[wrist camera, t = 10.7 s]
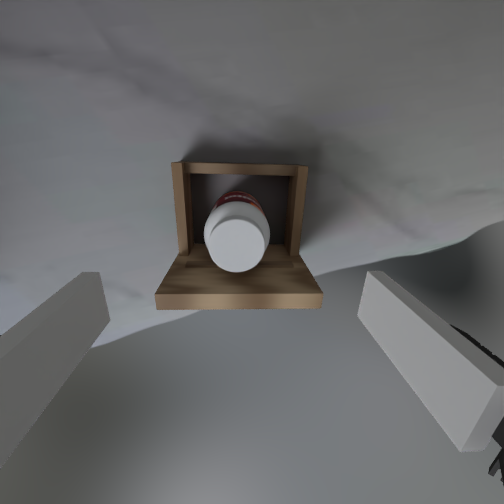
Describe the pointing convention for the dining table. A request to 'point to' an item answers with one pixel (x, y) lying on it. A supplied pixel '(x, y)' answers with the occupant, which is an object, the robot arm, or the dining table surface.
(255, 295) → the brown wooden l-shaped frame
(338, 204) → the dining table surface
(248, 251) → the pill bottle
